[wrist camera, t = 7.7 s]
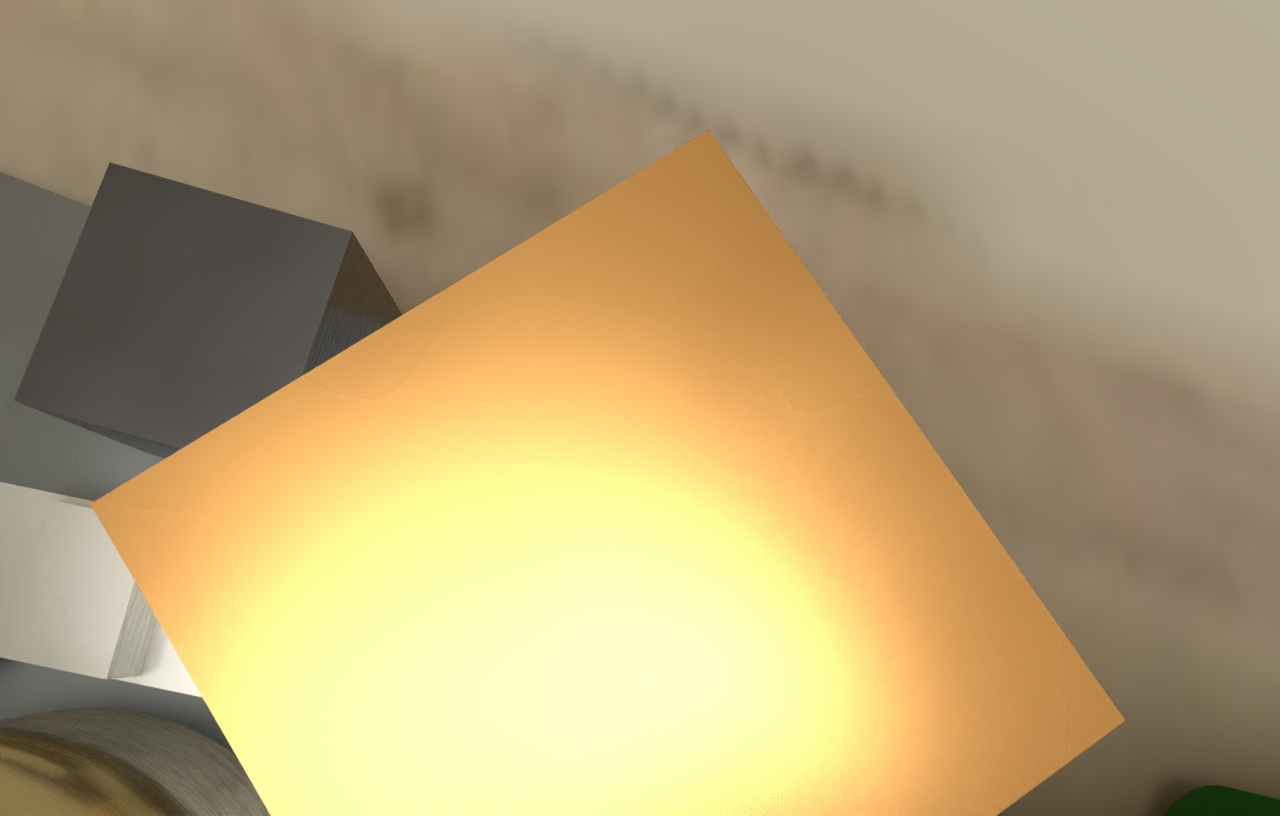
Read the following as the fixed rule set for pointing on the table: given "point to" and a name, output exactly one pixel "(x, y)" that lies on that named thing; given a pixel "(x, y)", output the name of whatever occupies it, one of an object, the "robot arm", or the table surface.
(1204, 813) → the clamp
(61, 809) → the base plate
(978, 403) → the table surface
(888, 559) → the ring of rectangular blocks
